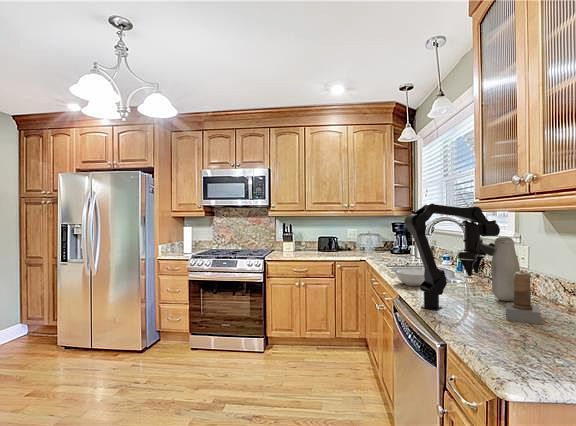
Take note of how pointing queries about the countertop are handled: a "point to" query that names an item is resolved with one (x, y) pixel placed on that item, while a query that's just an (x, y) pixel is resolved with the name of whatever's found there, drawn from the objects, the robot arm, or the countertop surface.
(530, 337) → the countertop surface
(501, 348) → the countertop surface
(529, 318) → the slate block
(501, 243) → the grey bottle
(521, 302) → the pepper mill
